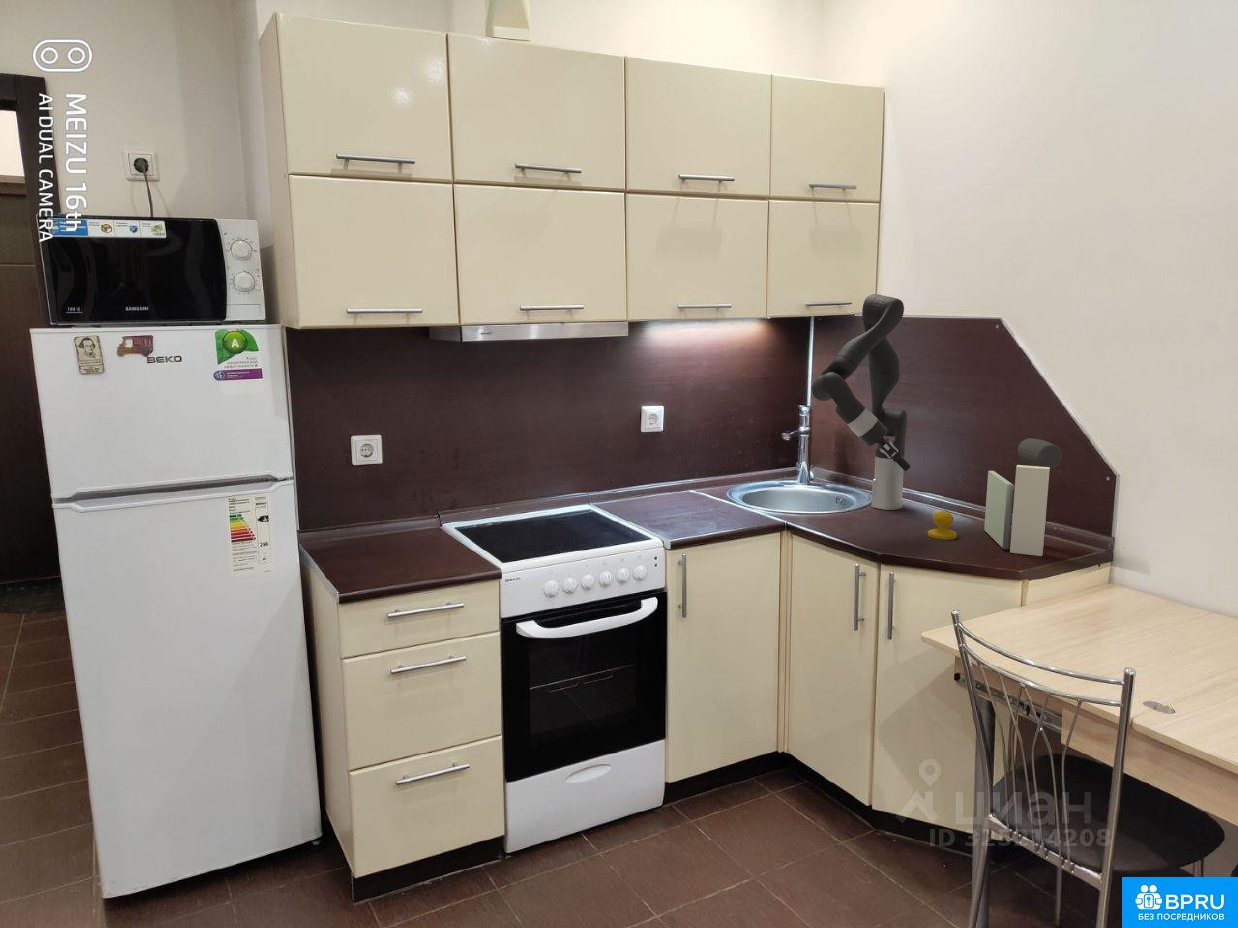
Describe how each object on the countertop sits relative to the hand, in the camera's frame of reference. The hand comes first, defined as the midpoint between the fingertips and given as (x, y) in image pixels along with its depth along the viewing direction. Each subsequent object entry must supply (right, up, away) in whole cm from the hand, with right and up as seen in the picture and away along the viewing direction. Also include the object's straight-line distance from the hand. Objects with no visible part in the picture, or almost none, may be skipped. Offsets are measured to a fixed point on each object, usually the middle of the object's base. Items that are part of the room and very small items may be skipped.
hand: (905, 466), depth 258 cm
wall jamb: (+28, -24, -16) cm, 40 cm away
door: (+25, -21, -4) cm, 33 cm away
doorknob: (+12, -21, +2) cm, 24 cm away
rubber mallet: (+33, -22, -8) cm, 41 cm away
